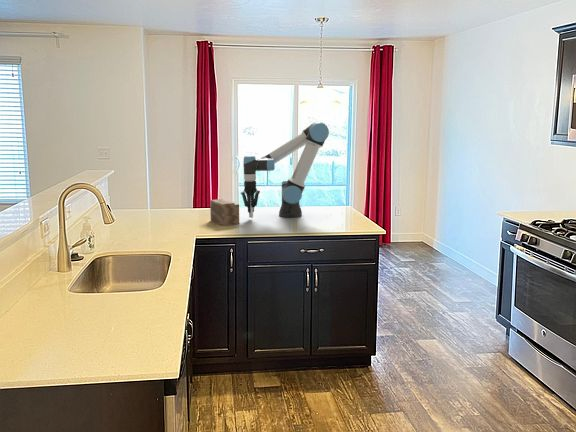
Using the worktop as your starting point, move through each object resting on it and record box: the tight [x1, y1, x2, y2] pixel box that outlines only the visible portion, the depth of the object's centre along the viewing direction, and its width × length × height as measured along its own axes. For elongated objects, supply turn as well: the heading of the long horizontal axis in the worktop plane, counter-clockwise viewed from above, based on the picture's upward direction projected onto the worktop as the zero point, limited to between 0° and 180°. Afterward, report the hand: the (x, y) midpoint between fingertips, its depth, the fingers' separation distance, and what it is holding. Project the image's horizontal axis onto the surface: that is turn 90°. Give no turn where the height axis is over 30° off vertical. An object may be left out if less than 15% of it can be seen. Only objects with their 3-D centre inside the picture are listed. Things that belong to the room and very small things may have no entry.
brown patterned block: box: [209, 198, 240, 227], centre depth 360 cm, size 11×18×13 cm, turn 32°
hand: (251, 217), depth 371 cm, fingers closed
